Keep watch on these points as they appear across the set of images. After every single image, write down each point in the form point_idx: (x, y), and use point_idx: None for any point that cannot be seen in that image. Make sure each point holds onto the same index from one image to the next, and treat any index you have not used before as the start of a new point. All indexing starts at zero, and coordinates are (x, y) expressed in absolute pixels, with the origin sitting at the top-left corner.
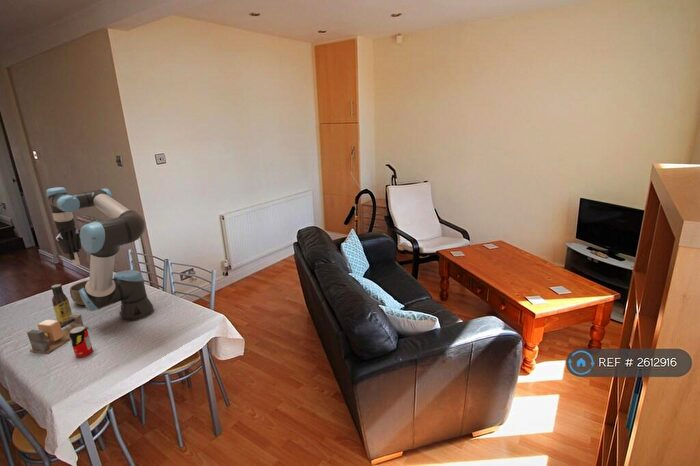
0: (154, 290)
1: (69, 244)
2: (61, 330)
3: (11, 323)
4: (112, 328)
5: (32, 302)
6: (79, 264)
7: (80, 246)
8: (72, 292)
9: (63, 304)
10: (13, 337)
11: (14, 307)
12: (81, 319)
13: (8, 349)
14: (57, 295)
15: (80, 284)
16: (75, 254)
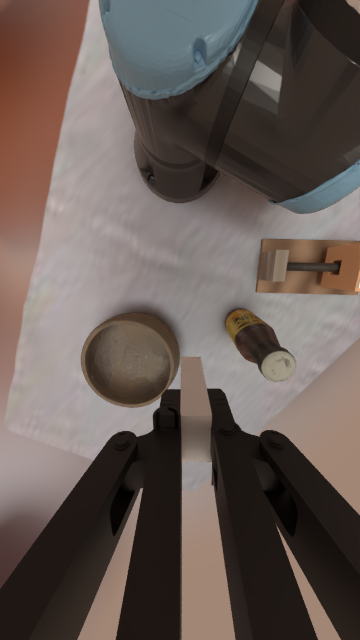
0: (49, 212)
1: (296, 589)
2: (341, 245)
3: (250, 428)
4: None
5: None
6: (187, 357)
7: (103, 458)
8: (174, 374)
9: (263, 322)
10: (300, 377)
11: (193, 476)
12: (271, 251)
13: (343, 346)
14: (277, 343)
15: (121, 399)
16: (202, 404)
